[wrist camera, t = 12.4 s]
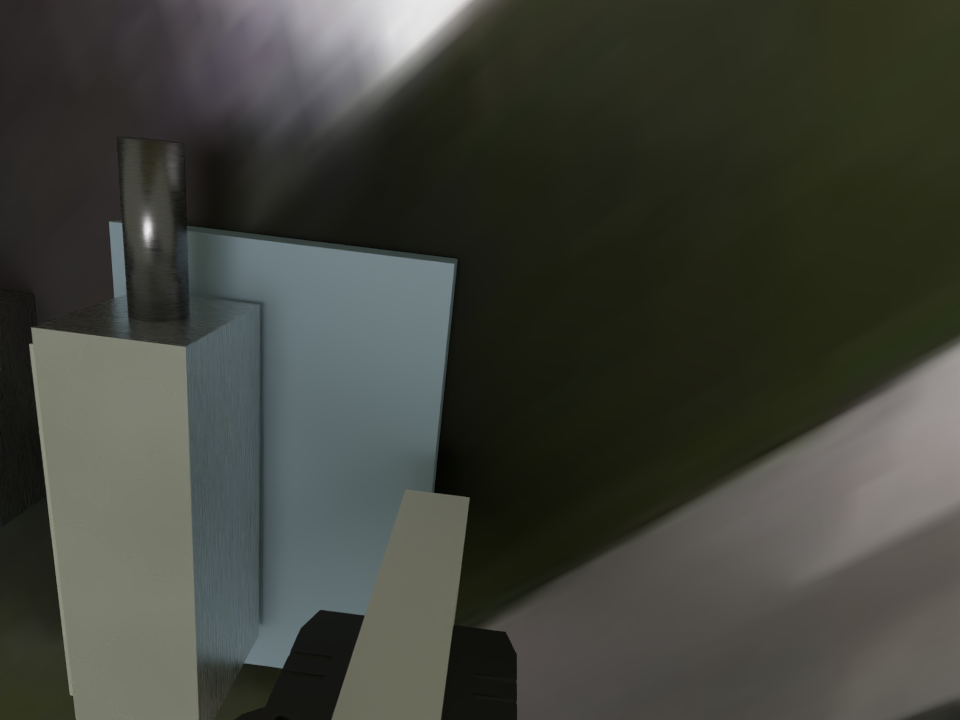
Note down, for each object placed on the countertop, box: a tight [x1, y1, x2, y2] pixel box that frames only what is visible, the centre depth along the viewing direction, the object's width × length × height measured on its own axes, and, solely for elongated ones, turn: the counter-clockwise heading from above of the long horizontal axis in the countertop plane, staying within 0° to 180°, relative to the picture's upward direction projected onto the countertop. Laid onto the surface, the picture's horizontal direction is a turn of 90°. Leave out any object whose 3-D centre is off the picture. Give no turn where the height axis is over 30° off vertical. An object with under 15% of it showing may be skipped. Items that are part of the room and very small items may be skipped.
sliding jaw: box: [29, 137, 260, 720], centre depth 15 cm, size 14×3×4 cm, turn 174°
